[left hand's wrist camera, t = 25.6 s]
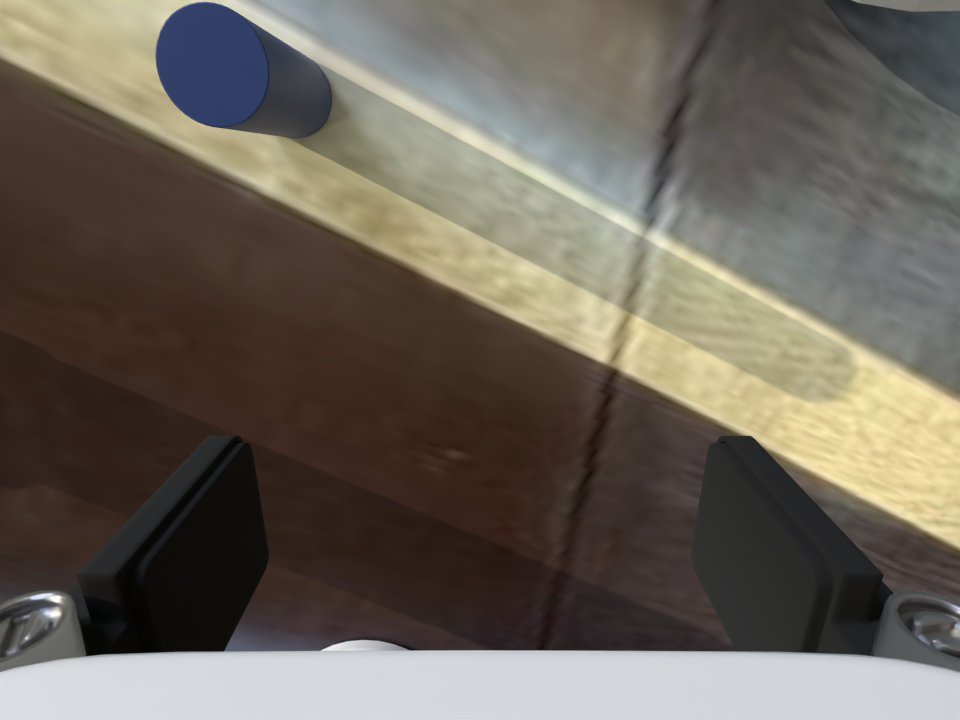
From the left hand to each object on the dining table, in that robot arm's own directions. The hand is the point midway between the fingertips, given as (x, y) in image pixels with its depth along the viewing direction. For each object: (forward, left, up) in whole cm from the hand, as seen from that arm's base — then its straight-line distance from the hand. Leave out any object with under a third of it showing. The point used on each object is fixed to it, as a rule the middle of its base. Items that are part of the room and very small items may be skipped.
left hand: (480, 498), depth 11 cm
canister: (0, +14, -25) cm, 29 cm away
